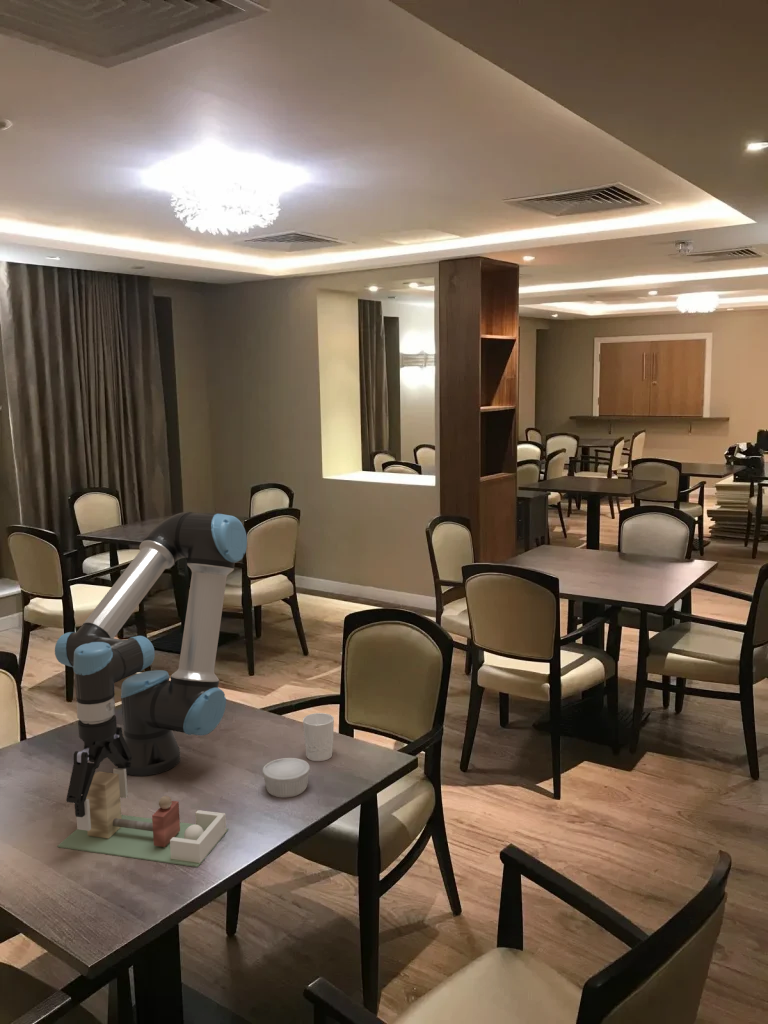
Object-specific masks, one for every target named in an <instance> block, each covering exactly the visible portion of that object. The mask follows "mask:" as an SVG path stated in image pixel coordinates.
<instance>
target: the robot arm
mask: <svg viewBox="0 0 768 1024" xmlns="http://www.w3.org/2000/svg"><path fill="white" fill-rule="evenodd" d="M243 525H244V524H243V523H242V522H241V521H240V519H239V518H238V517H236V516H234V515H229V514H223V513H211V512H210V513H207V512H193V511H192V512H191V511H189V512H188V511H184V512H179V513H177V514H173V515H171V516H169V517H168V518H166V519H164V520H163V521H161V522H160V523H159V524H158V525H156V526H155V528H153V529H152V530H151V531H150V532H149V533H148V534H147V536H145V538H144V539H143V540H142V541H141V542H140V543H139V546H138V548H139V552H138V553H137V554H136V556H135V557H134V558H133V559H132V560H131V562H130V563H129V565H128V566H127V567H126V568H125V570H123V572H122V573H121V575H120V576H119V577H118V578H117V580H116V581H115V582H114V584H113V585H112V587H110V589H109V590H108V591H107V593H105V595H104V596H103V598H102V599H101V600H100V601H99V603H98V604H97V605H96V606H95V608H94V609H93V610H92V612H91V613H90V614H89V615H88V617H87V618H86V619H85V621H84V622H83V623H82V625H80V627H79V629H78V630H77V631H76V632H75V631H69V632H65V633H64V634H61V636H60V637H58V639H57V640H56V643H55V645H54V655H55V658H56V660H57V661H58V663H59V664H61V665H64V666H67V667H70V668H72V669H73V676H74V685H75V698H76V701H75V703H76V717H77V719H78V721H77V725H78V737H79V739H80V740H81V741H82V742H83V749H82V750H81V751H78V750H76V751H74V753H73V765H72V766H73V767H72V770H71V775H70V779H69V780H70V781H69V785H68V790H67V794H66V799H65V800H66V801H65V802H66V803H70V804H74V813H75V817H76V830H77V829H79V830H86V831H89V830H90V829H91V820H90V806H89V799H86V798H87V795H88V792H89V788H90V785H91V782H92V779H93V776H94V774H95V773H96V770H97V769H98V768H99V767H100V764H101V763H102V762H103V761H104V759H108V760H109V761H110V762H111V763H112V764H113V765H114V766H115V767H114V768H113V769H112V771H113V772H112V773H116V774H119V788H120V799H121V798H122V799H127V798H128V797H129V796H128V795H129V794H128V793H129V792H128V780H127V779H128V775H129V776H136V777H137V776H139V777H143V776H153V775H156V774H161V773H164V772H166V771H169V770H171V769H172V768H173V769H174V768H175V767H176V766H177V765H178V764H179V763H180V761H181V749H180V746H179V745H178V742H177V739H176V737H175V734H174V732H179V733H183V734H185V735H189V736H192V735H193V736H205V735H208V734H209V735H210V733H212V732H213V731H214V730H215V729H216V728H217V726H218V725H219V724H220V723H221V721H222V719H223V716H224V715H225V711H226V706H227V697H226V694H225V692H224V691H223V690H222V689H221V688H220V687H219V683H220V679H219V678H218V676H217V674H215V666H216V658H217V652H218V651H217V650H218V645H219V644H218V643H219V639H220V638H219V637H220V629H221V622H222V614H223V607H224V606H223V605H224V601H225V600H224V599H225V592H226V584H227V577H228V575H229V574H231V573H232V572H233V571H235V563H238V562H239V561H242V560H243V558H244V556H245V554H246V552H247V549H248V548H247V547H248V536H247V531H246V529H245V527H244V526H243ZM184 558H185V559H187V561H186V565H187V567H188V568H189V569H190V571H191V579H190V584H189V586H190V587H189V592H188V599H187V607H186V613H185V621H184V628H183V635H182V641H181V649H180V657H179V662H178V669H177V670H175V671H174V672H173V673H172V674H171V675H169V672H168V671H167V670H163V669H154V670H147V671H144V672H143V670H144V669H146V668H148V667H150V666H151V665H152V664H153V662H154V660H155V658H156V657H155V648H154V647H155V646H154V645H153V643H152V642H151V641H150V640H149V638H147V637H146V636H144V635H137V636H131V637H129V638H128V639H121V638H115V637H116V636H117V634H118V633H119V631H120V630H121V629H122V628H123V626H124V625H125V624H126V622H127V621H128V619H130V617H131V615H132V614H133V613H134V611H135V610H136V608H138V606H139V605H140V603H141V602H142V600H143V599H144V598H145V596H146V595H148V593H149V591H150V590H151V589H152V587H153V586H154V585H155V583H156V582H157V581H158V579H159V578H160V577H161V575H162V574H163V573H164V571H165V570H166V569H171V568H172V567H173V566H174V565H175V563H176V562H177V561H179V560H180V559H184ZM121 680H123V682H121V683H122V684H121V688H120V689H121V695H120V700H121V701H120V702H121V711H122V712H121V714H122V724H123V728H122V727H121V726H120V727H119V726H118V725H117V724H118V723H117V715H115V714H116V701H115V695H116V694H115V683H118V682H120V681H121Z"/></svg>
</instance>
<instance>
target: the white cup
mask: <svg viewBox="0 0 768 1024" xmlns="http://www.w3.org/2000/svg"><path fill="white" fill-rule="evenodd" d="M334 719H335V718H334V716H333V715H332V714H331V713H325V712H314V713H310V714H307V715H305V716H304V717H303V718H302V724H303V738H304V746H305V756H306V758H307V760H310V761H312V762H323V761H327V760H330V759H331V758H332V756H333V746H334V730H335V727H334V726H335V725H334V722H335V721H334Z"/></svg>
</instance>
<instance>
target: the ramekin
mask: <svg viewBox="0 0 768 1024" xmlns="http://www.w3.org/2000/svg"><path fill="white" fill-rule="evenodd" d="M310 768H311V767H310V764H309V763H308V762H307V761H306V760H304V759H302V758H296V757H283V758H277V759H274V760H271V761H269V762H268V763H266V764H265V765H264V766H263V767H262V776H263V778H264V779H263V780H264V784H265V788H266V791H267V792H268V793H269V795H271V796H274V797H277V798H284V799H286V798H292V797H296V796H298V795H300V794H302V793H303V792H305V790H306V789H307V788H308V782H309V775H310V771H311V769H310Z"/></svg>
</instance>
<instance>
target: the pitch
mask: <svg viewBox="0 0 768 1024" xmlns="http://www.w3.org/2000/svg"><path fill="white" fill-rule="evenodd" d="M121 818H122V819H126V820H133V821H141V822H149V823H153V822H152V818H150V817H141V816H133V815H128V814H121ZM191 825H196V823H188V822H180V831H179V832H178V833H177V835H176V836H175V837H176V838H183V839H185V838H184V833H185V831H186V829H187V828H188V827H189V826H191ZM228 831H229V828H227V827H226V832H225V833H224V834H223V836H222V837H221V838H220V839H219V841H218V842H217V843H216V844H215V845H214V847H213V848H212V849H211V850H210V852H209V853H208V854H207V855H206V856H205V858H204V859H203V860H202V861H201V863H196V862H189V861H182V860H175V859H171V851H170V842H169V843H168V844H167V845H166V846H165V847H160V846H154V839H153V831H146V830H139V829H131V828H124V827H121V828H119V829H118V830H117V831H116V832H115V833H114V834H113V835H112V836H111V837H110V838H109V839H108V838H101V837H94V836H88V833H87V831H86V830H79V829H77V828H76V829H75V830H74V831H73V832H71V834H69V835H68V836H67V837H66V838H64V839H63V841H62V842H60V843H59V844H58V845H57V848H60V849H61V848H62V849H69V850H74V851H83V852H90V853H96V854H102V855H103V854H104V855H110V856H116V857H123V858H124V857H125V858H131V859H139V860H144V861H151V862H159V863H164V864H165V863H166V864H172V865H173V864H174V865H177V866H178V865H179V866H186V867H193V868H199V866H200V865H201V864H202V863H203V862H204V860H205V859H206V858H207V857H208V855H209V854H210V853H211V852H212V851H213V849H214V848H215V847H216V846H217V845H218V844H219V842H220V841H221V839H222V838H223V837H224V836H225V835H226V834H227V832H228Z"/></svg>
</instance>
